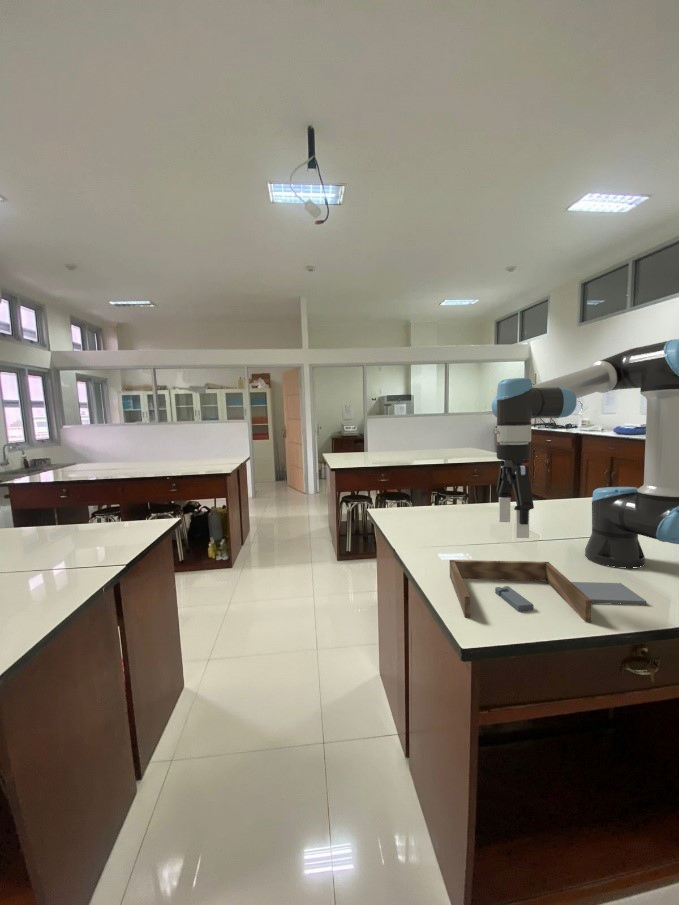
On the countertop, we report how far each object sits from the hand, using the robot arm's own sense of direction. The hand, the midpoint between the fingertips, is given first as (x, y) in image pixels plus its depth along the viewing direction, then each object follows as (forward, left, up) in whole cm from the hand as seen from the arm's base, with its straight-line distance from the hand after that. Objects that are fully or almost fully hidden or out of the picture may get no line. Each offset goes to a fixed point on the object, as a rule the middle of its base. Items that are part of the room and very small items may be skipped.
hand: (512, 529), depth 91 cm
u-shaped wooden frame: (0, -3, -18) cm, 19 cm away
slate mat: (-23, -5, -18) cm, 30 cm away
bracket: (0, 0, -19) cm, 19 cm away
